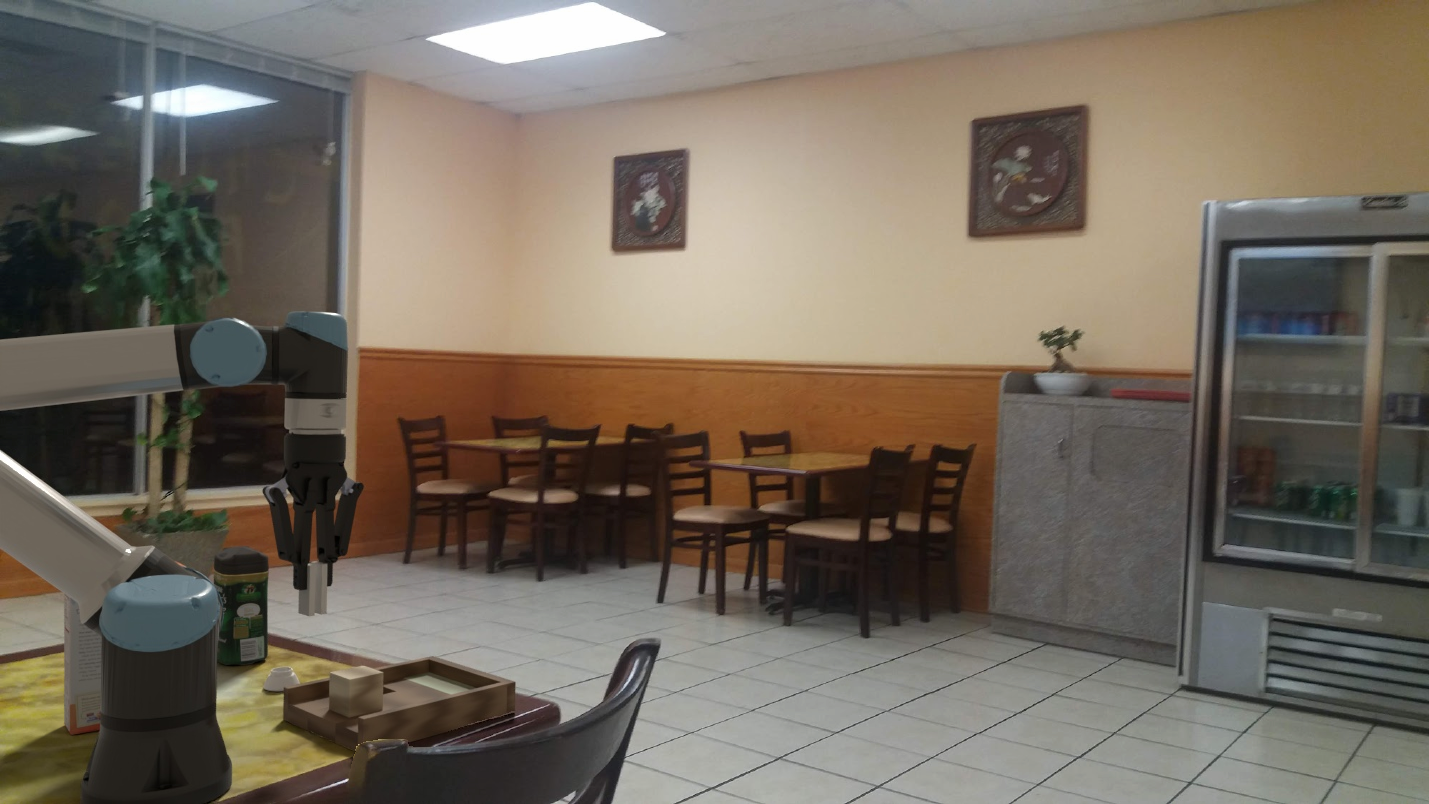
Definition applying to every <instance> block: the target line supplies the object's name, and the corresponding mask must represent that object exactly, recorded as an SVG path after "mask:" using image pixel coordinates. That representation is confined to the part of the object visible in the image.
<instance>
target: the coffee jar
mask: <svg viewBox="0 0 1429 804" xmlns="http://www.w3.org/2000/svg"><path fill="white" fill-rule="evenodd" d="M213 558H214V560H213V584H214V586H215V588H216V589H217V590H218V592H219V594H220V597H221V600H222V603H223V613H224V618H223V624H222V628H221V631H220V633H219V639H218V649H217V662H219V663H220V664H222V665H225V666H228V665H234V666H235V665H237V666H248V665H253V664H255V663H257V662H260V661H265V660H266V659H267V657H268V655H269V653H268V652H269V645H268V644H269V636H268V635H269V634H268V633H269V631H268V629H269V628H268V627H269V626H268V623H269V621H268V619H269V618H268V611H269V610H268V606H269V605H268V604H269V603H268V601H269V599H268V598H269V593H268V590H269V589H268V587H269V575H270V572H269V571H270V567H269V566H270V565H269V564H270V563H269V556H268V555H267V554H265V553H264V552H262V551H259V550H256V549H255V548H252V547H250V546H249V545H242V546H241V545H239V546H238V545H237V546H227V547H223V548H222V549H221V550H219V551H218V552H216V554H215V555H214V557H213Z"/></svg>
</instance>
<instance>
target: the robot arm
mask: <svg viewBox="0 0 1429 804" xmlns="http://www.w3.org/2000/svg"><path fill="white" fill-rule="evenodd" d="M348 346H349V344H348V322H347V320H346V319H345V317H344V316H343V315H342V314H340V313H335V312H327V311H326V312H325V311H290V312H289V313H288V314H287V315H286V320H285V322H284V325H279V326H277V325H276V326H275V325H274V326H266V325H265V326H264V325H253V324H252V325H251V323H248V322H247V321H245V320H242V319H238V318H236V317H222V318H214V319H213V320H209V321H200V322H199V321H198V322H189V323H188V322H187V323H180V324H165V325H164V324H163V325H153V326H143V327H141V326H140V327H131V328H130V327H128V328H118V329H116V328H115V329H109V330H108V329H107V330H94V331H85V332H84V331H83V332H72V333H64V334H63V333H61V334H59V333H58V334H50V335H40V336H38V335H37V336H27V337H26V336H25V337H17V338H13V337H12V338H4V339H0V411H1V412H2V411H8V410H9V411H10V410H12V411H13V410H20V409H29V408H36V407H37V408H38V407H45V406H46V407H47V406H55V405H63V404H64V405H66V404H72V403H83V402H91V401H99V400H108V399H116V398H126V397H135V396H143V395H152V394H153V395H154V394H162V393H172V392H180V391H188V390H189V391H193V390H203V389H204V390H205V389H212V388H222V387H223V388H233V387H238V386H244V385H272V386H280V385H283V386H284V388H285V389H284V390H285V392H284V420H283V421H284V428H285V429H286V430H289V431H288V433H286V434H285V435H284V437H283V461H284V469H283V471H282V472H281V476H280V480H278V481H277V482H275V483H273V484H272V485H271V486H269V485H266V486H264V487H263V488H262V494H263V496H264V498H265V500H266V501H267V502H268V504H269V510H270V517H271V521H272V528H273V533H274V539H275V545H276V551H277V556H278V559H279V560H281V561H285V562H289V563H291V565H292V566H293V569H292V580H293V581H292V586H293V588H294V590H297V591H298V610H297V611H298V612H297V613H298V614H299V615H303V616H307V617H314V616H315V614H319V615H325V614H327V613H328V612H327V610H328V609H327V608H328V607H327V606H328V603H327V601H328V598H327V597H328V587H332V585H333V580H334V579H333V575H334V573H333V572H334V567H333V566H334V564H336V563H337V562H338V560H339V558H340V557H346V555H347V554H348V551H349V545H350V540H351V536H352V530H353V526H354V525H353V524H354V518H355V513H356V510H357V504H358V500H359V499H360V496H361V494H362V492H363V491H364V487H365V485H364V483H363V482H359V481H355V480H353V479H351V478H350V477H348V471H347V470H346V467H345V461H346V458H347V436H346V435H345V433H342V430H345V429H346V428H347V393H348V389H347V387H348V362H349V361H348V360H349V348H348ZM287 491H288V492H287ZM339 492H340V495H339V498H338V499H339V500H338V504H337V503H336V496H337V495H338V493H339ZM288 494H290V496H291V497H292V509H293V512H294V514H293V515H294V516H293V527H292V521H291V516H290V514H291V513H290V508H289V505H288V502H287V497H288V496H289V495H288ZM336 504H337V508H336ZM336 509H337V510H336ZM335 510H336V513H335ZM314 512H315V531H316V536H315V538H316V558H317V559H318V561H317V560H316V561H315V560H314V561H311V549H312V548H311V546H312V532H313V531H312V529H313V518H314V517H313V515H314V514H313V513H314ZM0 550H1V551H3V552H4V553H6V554H7V555H9V556H10V557H11V558H13V559H14V560H15V561H17V562H18V563H20V564H22V565H23V566H24V567H26V568H27V569H29V571H31V572H33V573H34V574H36V575H37V576H38V577H40V578H42V579H43V580H44V581H46V582H47V583H49V584H50V585H51V586H53V587H54V588H56V589H57V590H59V591H60V592H61V593H63V595H64V594H66V595H67V596H69V597H70V598H71V599H73V600H74V601H76V602H77V603H78V605H79V608H80V620H81V623H82V624H84V625H85V626H87V627H88V628H90V629H91V630H92V631H94V632H95V633H97V634H98V635H100V636H101V637H102V643H101V700H100V711H101V713H100V730H98V731H99V733H98V735H97V738H96V740H95V742H94V743H95V744H94V746H93V749H92V751H91V754H90V757H89V760H88V763H87V767H86V771H85V773H84V775H83V776H82V779H81V782H80V804H206V803H208V802H211V801H214V800H215V799H217V798H219V797H220V796H222V795H224V794H225V793H227V791H228V790H229V789H230V788H231V787H232V783H233V763H232V760H231V757H230V755H229V754H228V751H227V747H226V744H225V741H224V740H225V739H224V737H223V734H222V730H221V728H220V725H219V723H218V717H217V696H218V695H217V694H218V693H217V692H218V691H217V690H218V688H217V687H218V686H217V685H218V661H217V649H218V639H219V633H220V631H221V628H222V624H223V618H224V613H223V603H222V600H221V597H220V594H219V592H218V590H217V589H216V588H215V586H214V582H212V580H210V579H209V578H208V576H206V575H204V574H203V573H201V571H197V570H195V569H194V568H190V567H187V566H186V565H184V566H180V565H179V564H178V563H179V562H178V563H176V562H175V561H176V560H174V559H172V558H171V557H170V556H168V555H167V554H165V553H164V552H162V551H161V550H160V549H158V548H157V546H154V545H145V546H144V545H143V546H134V545H133V546H132V545H130V543H128V542H127V541H125V540H124V539H123V538H121V537H120V536H119V535H117V534H116V533H114V532H113V531H111V529H109V528H107V527H106V526H105V525H104V524H102V523H101V522H99V521H98V520H96V519H95V518H94V517H92V516H91V515H90V514H88V513H87V512H86V511H84V510H83V509H82V508H80V507H79V506H78V505H76V504H74V503H73V502H72V501H71V500H70V499H68V498H66V497H65V496H64V495H63V494H61V493H59V492H58V491H57V490H56V489H54V488H53V487H51V486H50V485H49V484H47V483H46V482H44V480H43V479H40V478H39V477H38V476H36V475H35V474H33V473H32V472H31V471H29V470H28V469H27V468H26V467H24V466H23V465H21V464H20V463H19V462H17V461H16V460H15V459H13V458H12V457H11V456H9V455H8V454H7V453H5V452H4V451H3V450H1V449H0ZM310 561H311V562H310ZM185 566H186V567H187V568H186V567H185Z"/></svg>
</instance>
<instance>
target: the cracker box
mask: <svg viewBox="0 0 1429 804" xmlns="http://www.w3.org/2000/svg"><path fill="white" fill-rule="evenodd" d="M174 561H175V562H176V563H178V564H179V565H180V566H185V567H186V568H188V567H187V566H186V565H184V564H182V563H181V562H178V561H177V560H174ZM63 595H64V596H63V597H64V599H63V600H64V603H63V604H64V606H63V609H64V610H63V611H64V612H63V613H64V615H63V616H64V618H63V620H64V621H63V626H64V627H63V628H64V629H63V630H64V632H63V635H64V636H63V639H64V641H63V642H64V643H63V646H64V647H63V648H64V649H63V653H64V655H63V657H64V658H63V659H64V660H63V661H64V662H63V663H64V665H63V666H64V667H63V668H64V673H63V674H64V676H63V683H64V685H63V687H64V688H63V692H64V693H63V710H64V711H63V717H64V720H63V721H64V722H63V723H64V726H65V727H66V730H67V731H68V733H69V734H70V735H71V736H72V735H78V734H85V733H91V732H96V731H97V732H98V731H100V713H101V711H100V700H101V643H102V637H101V636H100V635H98V634H97V633H95V632H94V631H92V630H91V629H90V628H88V627H87V626H85V625H84V624H82V623H81V620H80V608H79V605H78V603H77V602H76V601H74V600H73V599H71V598H70V597H69V596H67V595H66V594H64V593H63Z"/></svg>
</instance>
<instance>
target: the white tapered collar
mask: <svg viewBox="0 0 1429 804" xmlns="http://www.w3.org/2000/svg"><path fill="white" fill-rule="evenodd" d="M296 684H301V683H300V680H299V678H298V676H297V674H296V672H294V669H293V668H292V666H279V667H274V668H272V669H270V673H269V674H268V676H267V677H266V679H265V682H264V683H263V686H262V687H263V689H264V690H265V691H268V692H272V693H273V692H274V693H280V692H283V693H284V687H286V686H291V685H296Z"/></svg>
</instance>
